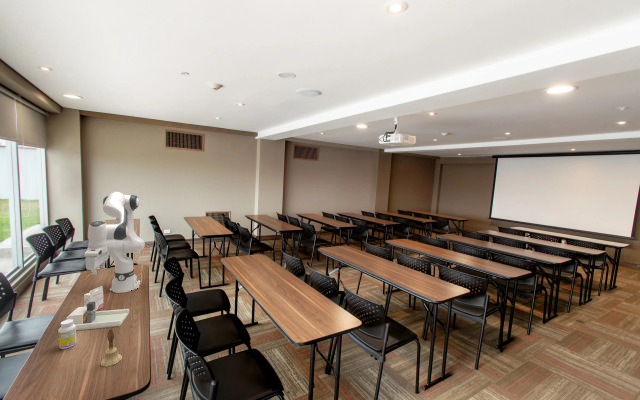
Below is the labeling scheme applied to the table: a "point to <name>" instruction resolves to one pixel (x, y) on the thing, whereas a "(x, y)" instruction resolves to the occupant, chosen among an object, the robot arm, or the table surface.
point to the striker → (90, 312)
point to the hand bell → (111, 352)
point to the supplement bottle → (67, 334)
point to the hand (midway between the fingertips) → (98, 271)
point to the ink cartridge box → (94, 298)
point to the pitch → (98, 318)
